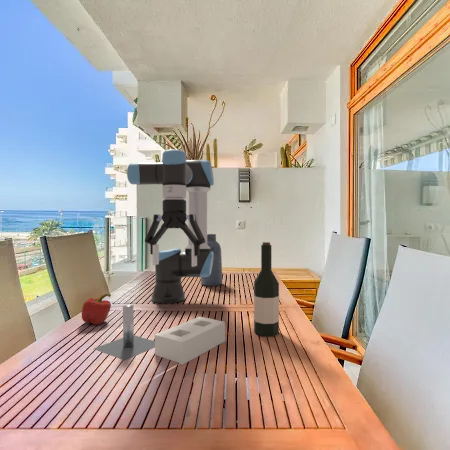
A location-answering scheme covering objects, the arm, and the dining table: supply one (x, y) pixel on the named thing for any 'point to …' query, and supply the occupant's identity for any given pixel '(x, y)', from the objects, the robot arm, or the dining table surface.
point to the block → (189, 339)
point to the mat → (126, 353)
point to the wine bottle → (266, 297)
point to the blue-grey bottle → (214, 263)
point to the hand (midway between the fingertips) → (174, 265)
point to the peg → (128, 326)
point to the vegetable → (96, 310)
